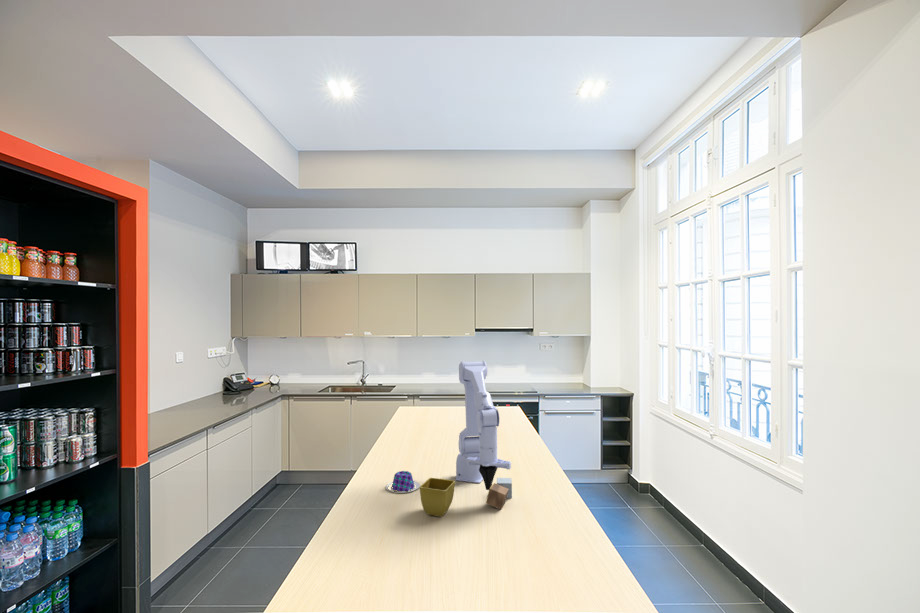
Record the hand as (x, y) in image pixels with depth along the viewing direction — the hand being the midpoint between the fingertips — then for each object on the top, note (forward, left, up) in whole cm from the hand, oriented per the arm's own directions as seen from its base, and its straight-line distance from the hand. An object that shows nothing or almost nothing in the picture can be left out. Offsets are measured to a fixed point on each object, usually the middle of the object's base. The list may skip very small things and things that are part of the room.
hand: (488, 488), depth 144 cm
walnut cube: (0, 0, -1) cm, 1 cm away
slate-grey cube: (+3, +9, -5) cm, 11 cm away
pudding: (-33, +4, -6) cm, 34 cm away
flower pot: (-13, -11, -5) cm, 18 cm away
